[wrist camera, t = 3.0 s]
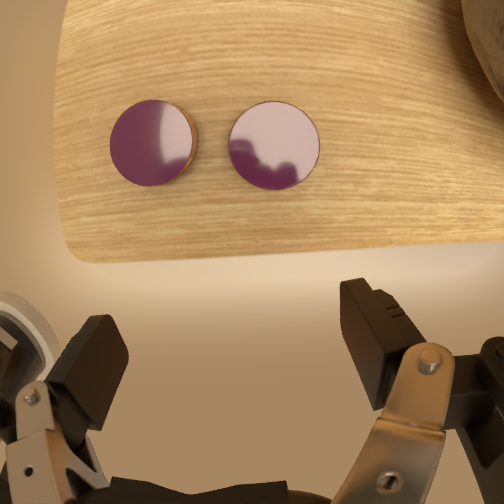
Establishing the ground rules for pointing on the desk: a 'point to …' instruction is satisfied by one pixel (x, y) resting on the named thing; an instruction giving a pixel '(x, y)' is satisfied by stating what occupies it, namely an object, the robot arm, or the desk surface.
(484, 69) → the bowl
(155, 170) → the purple flat round disc
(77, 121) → the desk surface
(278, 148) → the dish
